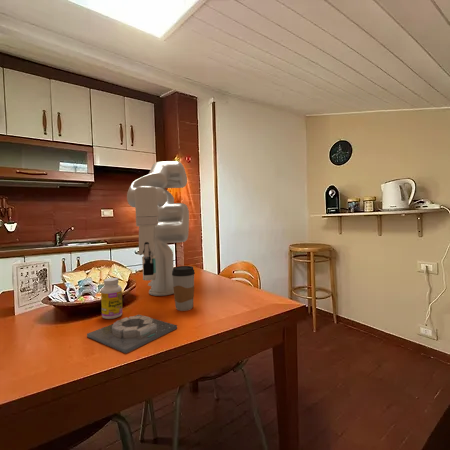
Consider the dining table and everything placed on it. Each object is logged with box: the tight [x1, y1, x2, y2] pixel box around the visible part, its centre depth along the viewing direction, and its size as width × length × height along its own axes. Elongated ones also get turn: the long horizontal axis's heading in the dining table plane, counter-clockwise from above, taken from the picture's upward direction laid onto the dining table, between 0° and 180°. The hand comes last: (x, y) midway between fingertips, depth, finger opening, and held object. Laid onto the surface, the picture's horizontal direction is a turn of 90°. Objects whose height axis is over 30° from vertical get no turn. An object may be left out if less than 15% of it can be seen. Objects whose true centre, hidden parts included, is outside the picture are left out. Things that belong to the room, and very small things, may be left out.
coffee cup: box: [172, 265, 195, 312], centre depth 103 cm, size 8×8×15 cm
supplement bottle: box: [100, 277, 123, 320], centre depth 97 cm, size 7×7×13 cm
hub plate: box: [86, 314, 178, 354], centre depth 83 cm, size 18×18×3 cm
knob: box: [141, 255, 156, 282], centre depth 99 cm, size 5×4×8 cm
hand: (149, 272), depth 99 cm, fingers closed on knob, 4 cm apart
